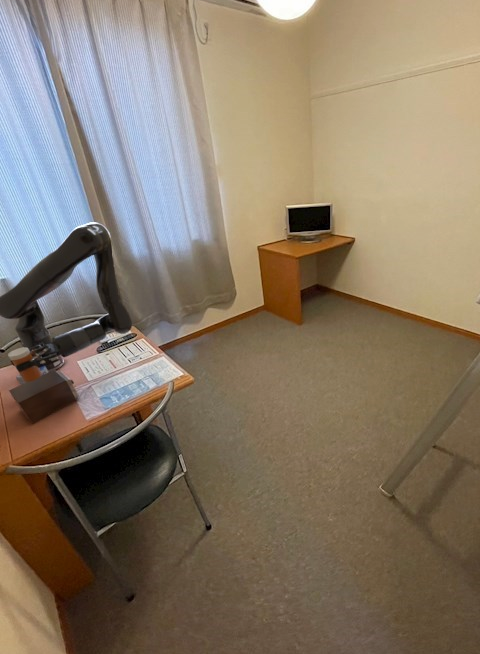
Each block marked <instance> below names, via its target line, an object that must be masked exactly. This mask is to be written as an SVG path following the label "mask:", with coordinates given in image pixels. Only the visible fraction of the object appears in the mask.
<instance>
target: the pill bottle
mask: <svg viewBox="0 0 480 654" xmlns="http://www.w3.org/2000/svg"><path fill="white" fill-rule="evenodd" d="M7 357H8V359H9V360H11V361H12V362H13V364H14V365H15V366H14V367H15V368H16V365H18V364H21V363H23V362H26V361H28V360H29V361H30V360H31V359H32V358H33V357H32V355H31V354H30V351H29V349H28V348H26V347H24V346H23V347H19V348H18V347H17V348H16V349H13V350H11V351H10V352H9V353H7ZM17 372H18V373H19V375H21V377H22V378H23V380H24V381H25V382H31V381H34V380H36V379H38V378H40V377H41V376H42V373H41V371H40V369H39V368H38V367H37V366H36V367H31V368H28V369H26V370H24V371H21V372H19V371H18V370H17Z"/></svg>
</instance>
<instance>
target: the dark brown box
mask: <svg viewBox="0 0 480 654" xmlns="http://www.w3.org/2000/svg"><path fill="white" fill-rule="evenodd" d="M57 372H58V371H57V370H53V371H51V372H48V373H46V374H44V375H42V376H41V377H40V378H38V379H36V380H34V381H31V382H26V383H24V384H22V385H21V384H20V385H17V386H15V387H13V388H10V389H8V392H9V393H10V395H11V397H12V398H13V399H14V402H16V404H17V406H18V407H19V409H20V410H21V412H22V413H23V414H24V416H25V417H26V418H27V419H28V420H29V422H30V423H31V424H32V425H33V424H35V423H37V422H39V421H40V420H43V419H44V418H46V417H48V416H50V415H52V414H54V413H56V412H57V411H60V410H62V409H64V408H65V407H67V406H69V405H71V404H73V403H75V402H77V401H78V400H77V397H76V398H75V396H74V394H73V392H72V391H71V389H70V387H69V385H68V383H67V381H66V380H65V379H64V378H63V377H62V376H61V375H60V374H59V373H57Z"/></svg>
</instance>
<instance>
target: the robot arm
mask: <svg viewBox="0 0 480 654" xmlns="http://www.w3.org/2000/svg"><path fill="white" fill-rule="evenodd" d="M92 256H93V258H94V261H95V268H96V269H95V271H96V272H95V273H96V275H95V276H96V277H95V281H96V283H95V285H96V291H97V295H98V298H99V301H100V304H101V307H102V308H103V309H104V310H105V311H106V312H107V313H106V314H104V315H103V316H101V317H99V318H98V319H96V320H95V321H94V322H92V323H89V324H86V325H84V326H81V327H78V328H75V329H71V330H69V331H66V332H64V333H61V334H59V335H56V336H54V337H52V335H51V334H50V332H49V329H48V328H47V325H46V324H45V316H44V314H43V311H42V309H41V306H40V304H39V302H38V300H40V299H42V298H44V297H45V296H47V295H49V294H50V293H52V292H54V291H55V290H56V289H58V288H59V287H61V285H63V284H65V282H67V280H69V278H71V276H72V274H73V272H74V270H75V268H77V266H78V265H79V264H82V263H83V262H84V261H86V260H87V259H88V258H91V257H92ZM0 317H1V318H3V319H7V320H17V321H16V324H15V326H14V331H15V333H16V335H17V337H18V339H19V340H20V342H21V344H22V345H23V347H26V348H28V349H29V351H30V354H31V355H32V357H33V358H32V359H31V360H30V361H29V360H28V361H26V362H23V363H21V364H18V365H16V367H15V365H14V364H13V362H12V361H11V359H9V360H10V363H11V365H12V366H13V367H15V369H16V370H17V372H18V371H19V372H21V371H24V370H26V369H28V368H31V367H36V366H37V367H38V368H40V367H43V366H45V367H46V369H47V371H48V372H51V371H53V370H55V371H57V370H58V369H60V368H62V367H63V366H64V364H65V360H64V359H63V358H67V357H69V356H72V355H74V354H76V353H78V352H80V351H83V350H85V349H88V347H90V346H92V345H95V344H97V343H99V342H102V341H103V340H105V339H106V338H107V334H109V333H110V332H115V333H116V334H120V335H125V334H128V333H129V332H131V330H132V328H133V320H132V316H131V315H130V312H129V311H128V309H127V307H126V305H125V303H124V300H123V296H122V293H121V290H120V285H119V283H118V279H117V273H116V267H115V261H114V254H113V243H112V239H111V234H110V232H109V230H108V229H107V228H106V227H105V226H104V225H103V224H101V223H99V222H89V223H86V224H85V223H84V224H82V225H79V226H77V227H75V228H73V230H72V231H70V233H69V234H68V235H67V236H66V238H65V239H64V240H63V241H62V242H61V244H60V245H59V246H58V247H57V248H56V249H54V250H53V251H52V252H50V253H49V254H48V255H46V256H45V257H43V258H42V259H41V260H40V261H39V262H38V263H36V264H35V265H34V266H33V267H32V268H31V269H30V270H29V271H28V272H27V273H26V274H25V275H24V276H23V277H22V279H20V280H19V282H18V283H17V284H15V286H14V287H12V288H11V289H9V290H8V291H7V292H5V293H3V294H1V295H0ZM19 372H18V373H19Z"/></svg>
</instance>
